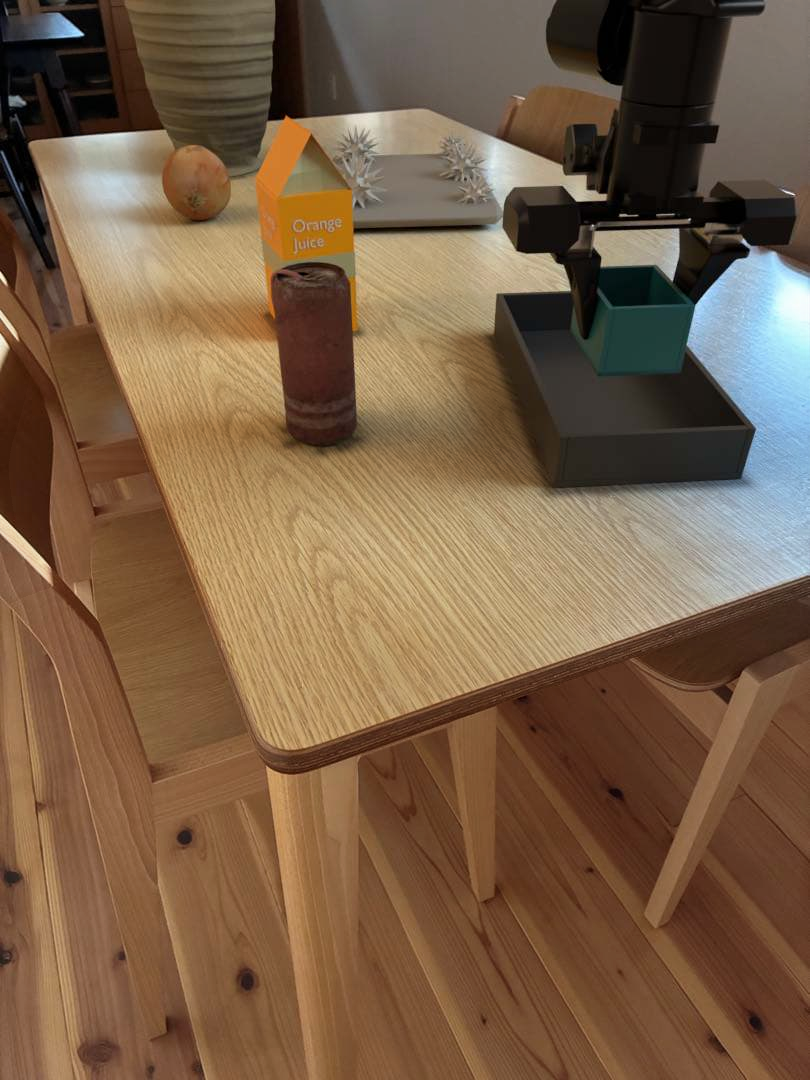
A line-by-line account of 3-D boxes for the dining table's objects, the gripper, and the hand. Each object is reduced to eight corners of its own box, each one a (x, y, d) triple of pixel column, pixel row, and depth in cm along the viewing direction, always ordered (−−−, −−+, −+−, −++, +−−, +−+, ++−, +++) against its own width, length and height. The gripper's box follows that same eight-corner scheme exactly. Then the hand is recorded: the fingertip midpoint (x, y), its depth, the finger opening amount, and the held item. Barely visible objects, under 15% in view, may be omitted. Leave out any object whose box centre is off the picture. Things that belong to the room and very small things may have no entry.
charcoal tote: (632, 329, 87) (639, 288, 84) (741, 478, 64) (756, 428, 62) (493, 335, 86) (496, 293, 84) (554, 487, 64) (560, 437, 61)
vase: (153, 159, 152) (143, -34, 137) (280, 173, 153) (284, -17, 138) (113, 175, 131) (96, -51, 116) (261, 191, 132) (263, -31, 117)
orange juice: (290, 342, 85) (269, 135, 73) (268, 312, 92) (246, 117, 79) (359, 330, 88) (351, 128, 75) (333, 302, 94) (322, 111, 82)
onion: (231, 206, 125) (222, 135, 119) (238, 225, 117) (228, 151, 111) (167, 211, 123) (154, 140, 117) (170, 231, 115) (156, 155, 109)
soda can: (289, 413, 73) (272, 258, 65) (358, 413, 73) (351, 258, 65) (280, 448, 68) (261, 286, 60) (355, 448, 68) (346, 286, 60)
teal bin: (644, 327, 64) (656, 264, 61) (680, 373, 57) (695, 305, 54) (570, 330, 63) (578, 267, 60) (597, 377, 57) (608, 309, 54)
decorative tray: (504, 231, 114) (509, 155, 108) (322, 236, 113) (317, 160, 107) (472, 169, 142) (474, 106, 136) (325, 173, 140) (321, 109, 134)
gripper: (757, 74, 57) (706, 290, 66) (496, 79, 56) (483, 299, 65) (837, 104, 48) (766, 348, 58) (529, 111, 47) (509, 359, 57)
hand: (626, 335), depth 60 cm, fingers closed on teal bin, 6 cm apart
